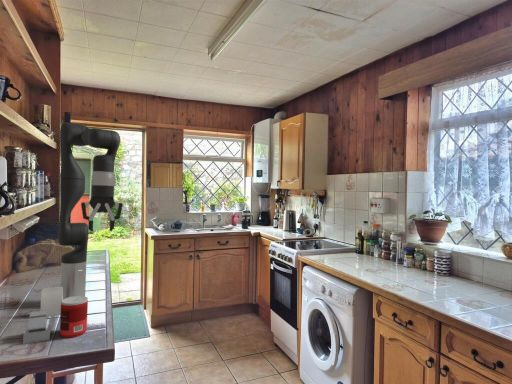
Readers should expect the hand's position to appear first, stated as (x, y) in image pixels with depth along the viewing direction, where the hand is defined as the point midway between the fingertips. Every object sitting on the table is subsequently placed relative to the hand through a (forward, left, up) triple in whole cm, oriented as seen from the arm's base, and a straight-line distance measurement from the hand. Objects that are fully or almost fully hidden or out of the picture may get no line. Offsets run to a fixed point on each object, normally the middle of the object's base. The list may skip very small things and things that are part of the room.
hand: (101, 230), depth 121 cm
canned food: (+8, -8, -33) cm, 35 cm away
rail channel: (+6, -18, -33) cm, 38 cm away
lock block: (+6, -18, -33) cm, 38 cm away
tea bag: (-14, -15, -33) cm, 39 cm away
